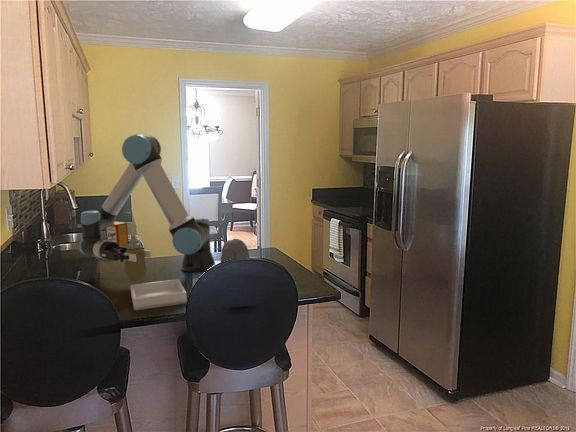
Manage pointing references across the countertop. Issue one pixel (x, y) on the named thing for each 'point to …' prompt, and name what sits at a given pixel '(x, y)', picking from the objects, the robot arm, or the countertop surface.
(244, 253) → the small grey backpack
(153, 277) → the countertop surface
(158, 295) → the box
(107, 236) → the baking soda box
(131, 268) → the squeeze bottle
